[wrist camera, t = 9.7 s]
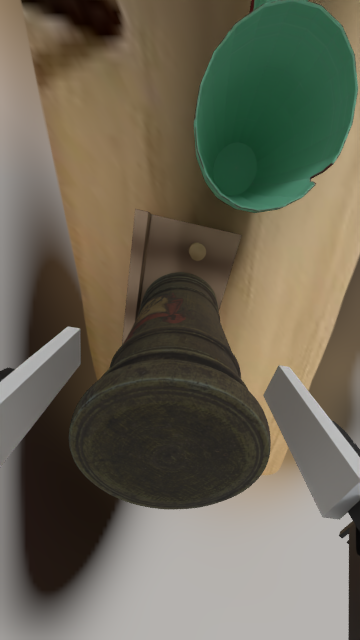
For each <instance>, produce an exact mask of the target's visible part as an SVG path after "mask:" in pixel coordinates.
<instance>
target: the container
mask: <svg viewBox="0 0 360 640" xmlns="http://www.w3.org/2000/svg"><path fill="white" fill-rule="evenodd" d="M69 445H70V450H71V453H72V456H73V459H74V461H75V463H76V465H77V466H78V468H79V469H80V470H81V472H82V473H83V474H84V475H85V476H86V477H87V478H88V479H89V480H90V481H91V482H93V483H94V484H95V485H96V486H98V487H99V488H100V489H102V490H103V491H105V492H107V493H109V494H110V495H112V496H115V497H117V498H119V499H121V500H124V501H127V502H129V503H133V504H136V505H140V506H145V507H150V508H158V509H189V508H197V507H203V506H208V505H211V504H215V503H218V502H221V501H224V500H227V499H229V498H231V497H234V496H236V495H238V494H239V493H241V492H243V491H244V490H246V489H247V488H249V487H250V486H251V485H252V484H253V483H254V482H255V481H256V480H257V479H258V478H259V477H260V475H261V474H262V473H263V471H264V469H265V467H266V465H267V462H268V459H269V455H270V431H269V426H268V422H267V419H266V416H265V414H264V411H263V409H262V407H261V406H260V404H259V403H258V401H257V400H256V399H255V397H254V396H253V395H252V394H251V393H250V392H249V391H248V389H247V387H246V385H245V384H244V382H243V381H242V380H241V373H240V367H239V364H238V362H237V359H236V358H235V356H234V355H233V353H232V351H231V349H230V346H229V344H228V341H227V339H226V336H225V334H224V331H223V329H222V326H221V324H220V316H219V312H218V303H217V299H216V295H215V293H214V291H213V289H212V288H211V286H210V285H209V284H208V283H207V282H206V281H204V280H203V279H201V278H200V277H198V276H196V275H193V274H190V273H184V272H176V273H170V274H166V275H164V276H162V277H160V278H158V279H157V280H155V281H154V282H153V283H152V284H151V285H150V286H149V287H148V289H147V290H146V292H145V294H144V297H143V300H142V303H141V307H140V311H139V314H138V318H137V320H136V322H135V323H134V325H133V327H132V329H131V331H130V332H129V334H128V336H127V338H126V340H125V342H124V343H123V345H122V346H121V347H120V348H119V349H118V351H117V352H116V354H115V355H114V357H113V359H112V362H111V364H110V369H109V370H108V371H107V372H106V373H105V374H104V375H103V376H102V377H101V379H99V380H98V381H97V382H96V383H95V384H93V385H92V386H91V387H90V388H89V389H88V390H87V392H86V393H85V394H84V395H83V397H82V398H81V400H80V401H79V403H78V404H77V406H76V409H75V411H74V413H73V416H72V420H71V424H70V430H69Z"/></svg>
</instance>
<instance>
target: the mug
mask: <svg viewBox="0 0 360 640" xmlns="http://www.w3.org/2000/svg"><path fill="white" fill-rule="evenodd" d="M357 92H358V84H357V73H356V62H355V54H354V52H353V50H352V47H351V45H350V43H349V40H348V38H347V35H346V33H345V31H344V28H343V26H342V25H341V24H340V23H339V22H338V21H337V20H336V19H335V18H334V17H333V16H332V15H331V14H330V13H329V12H328V11H327V10H326V9H325V8H324V7H323V6H321V5H319V4H316V3H312V2H309V1H308V0H252V3H251V8H250V13H249V14H248V15H247V16H245V17H244V18H242V19H241V20H240V21H238V22H237V23H235V25H234V26H233V27H232V29H231V30H230V31H229V32H228V34H227V35H226V36H225V38H224V39H223V40H222V42H221V43H220V44H219V46H218V47H217V48H216V50H215V51H214V52H213V55H212V57H211V60H210V62H209V64H208V67H207V69H206V72H205V74H204V77H203V79H202V81H201V84H200V86H199V93H198V99H197V105H196V112H195V118H194V136H195V148H196V158H197V160H198V163H199V166H200V169H201V171H202V174H203V177H204V180H205V182H206V184H207V185H208V186H209V188H210V189H211V190H212V192H213V193H214V194H215V196H216V197H217V198H219V199H220V200H222V201H223V202H225V203H226V204H228V205H230V206H231V207H233V208H234V209H238V210H243V211H248V212H253V213H257V212H264V211H270V210H277V209H280V208H283V207H285V206H286V205H288V204H290V203H292V202H294V201H296V200H298V199H300V198H302V197H303V196H305V195H306V194H307V193H308V192H309V191H310V190H311V189H312V188H313V187H314V186H315V184H316V183H315V182H311V179H312V178H314V177H315V176H317V175H319V174H321V173H323V172H324V171H326V170H327V169H328V168H329V167H330V166H332V165H333V164H334V162H335V161H336V159H337V158H338V156H339V155H340V153H341V151H342V148H343V146H344V143H345V141H346V138H347V136H348V133H349V131H350V128H351V126H352V123H353V117H354V111H355V105H356V99H357Z"/></svg>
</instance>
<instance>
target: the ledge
mask: <svg viewBox="0 0 360 640" xmlns="http://www.w3.org/2000/svg"><path fill="white" fill-rule="evenodd" d="M241 236H242V235H240V234H235V233H231V232H227V231H222V230H218V229H214V228H209V227H205V226H200V225H196V224H192V223H187V222H183V221H178V220H174V219H170V218H165V217H161V216H157V215H152V214H151V213H149V212H147V211H142V210H138V209H135V218H134V228H133V238H132V249H131V259H130V269H129V279H128V289H127V299H126V309H125V319H124V330H123V340H122V345H123V343H124V342H125V340H126V338H127V336H128V334H129V332H130V331H131V329H132V327H133V325H134V323H135V322H136V320H137V318H138V314H139V311H140V307H141V303H142V300H143V297H144V294H145V292H146V290H147V289H148V287H149V286H150V285H151V284H152V283H153V282H154V281H155V280H157V279H158V278H160V277H162V276H164V275H166V274H170V273H176V272H184V273H190V274H193V275H196V276H198V277H200V278H201V279H203V280H204V281H206V282H207V283H208V284H209V285H210V286H211V288H212V289H213V291H214V293H215V295H216V299H217V303H218V312H219V309H220V305H221V302H222V299H223V296H224V292H225V289H226V286H227V282H228V279H229V276H230V273H231V269H232V266H233V263H234V259H235V256H236V253H237V249H238V246H239V243H240V240H241Z"/></svg>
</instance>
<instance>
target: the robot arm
mask: <svg viewBox="0 0 360 640" xmlns="http://www.w3.org/2000/svg"><path fill="white" fill-rule="evenodd" d="M80 350H81V346H80V329H79V328H73V327H67V328H65V329H64V330H63V331H62V332H60V333H59V334H58V335H57V336H56V337H54V338H53V339H52V340H51V341H50V342H49V343H47V344H46V345H45V346H44V347H42V348H41V349H40V350H39V351H37V352H36V353H35V354H34V355H33V356H31V357H30V358H29V359H28V360H26V361H25V362H24V363H23V364H21V365H20V366H19V367H18V368H17V369H12V368H6V369H4V370H2V371H0V467H1V466H2V464H3V463H4V462H5V461H6V459H7V458H8V457H9V455H10V454H11V453H12V451H13V450H14V449H15V448H16V446H17V445H18V444H19V443H20V441H21V440H22V439H23V437H24V436H25V435H26V434H27V432H28V431H29V430H30V428H31V427H32V426H33V425H34V423H35V422H36V421H37V419H38V418H39V417H40V416H41V414H42V413H43V411H44V410H45V409H46V408H47V406H48V405H49V404H50V403H51V401H52V400H53V399H54V398H55V396H56V395H57V393H58V392H59V391H60V390H61V389H62V387H63V386H64V385H65V383H66V382H67V381H68V380H69V378H70V377H71V376H72V374H73V373H74V372H75V371H76V369H77V368H78V367H79V365H80V364H81V353H80V352H81V351H80ZM263 396H264V398H265V400H266V402H267V404H268V406H269V408H270V410H271V412H272V414H273V416H274V418H275V420H276V422H277V424H278V426H279V428H280V431H281V433H282V435H283V437H284V439H285V441H286V443H287V445H288V447H289V449H290V451H291V453H292V455H293V457H294V459H295V461H296V463H297V466H298V467H299V470H300V472H301V474H302V476H303V478H304V480H305V482H306V484H307V486H308V488H309V490H310V492H311V494H312V496H313V498H314V501H315V503H316V505H317V507H318V509H319V511H320V513H321V515H322V517H326V518H333V519H340V518H342V517H343V516H344V515H345V514H346V513H347V512H348V513H349V515H350V516H351V518H352V520H353V521H352V522H351V523H350V524H349V525H348V526H346V527H345V528H344V529H343V530H342V531H341V532H340V535H339V536H340V537H341V538H343V537H345V536H346V535H347V534H349V540H348V541H347V543H348V544H349V640H360V449H359V448H358V447H357V445H356V444H354V443H353V441H352V440H351V438H350V437H349V436H348V434H347V433H346V432H345V431H344V430H343V429H342V428H341V427H340V426H339V425H337V424H336V423H335V422H334V421H331V420H330V418H329V417H328V416H327V415H326V413H325V412H324V411H323V409H322V408H321V407H320V406H319V404H318V403H317V402H316V400H315V399H314V398H313V397H312V396H311V394H310V393H309V391H308V390H307V389H306V388H305V386H304V385H303V384H302V382H301V381H300V380H299V379H298V377H297V376H296V375H295V374H294V372H293V371H292V370H291V368H290V367H286V366H280V365H279V366H278V368H277V370H276V372H275V374H274V376H273V378H272V379H271V381H270V383H269V385H268V387H267V389H266V391H265V393H264V395H263Z"/></svg>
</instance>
